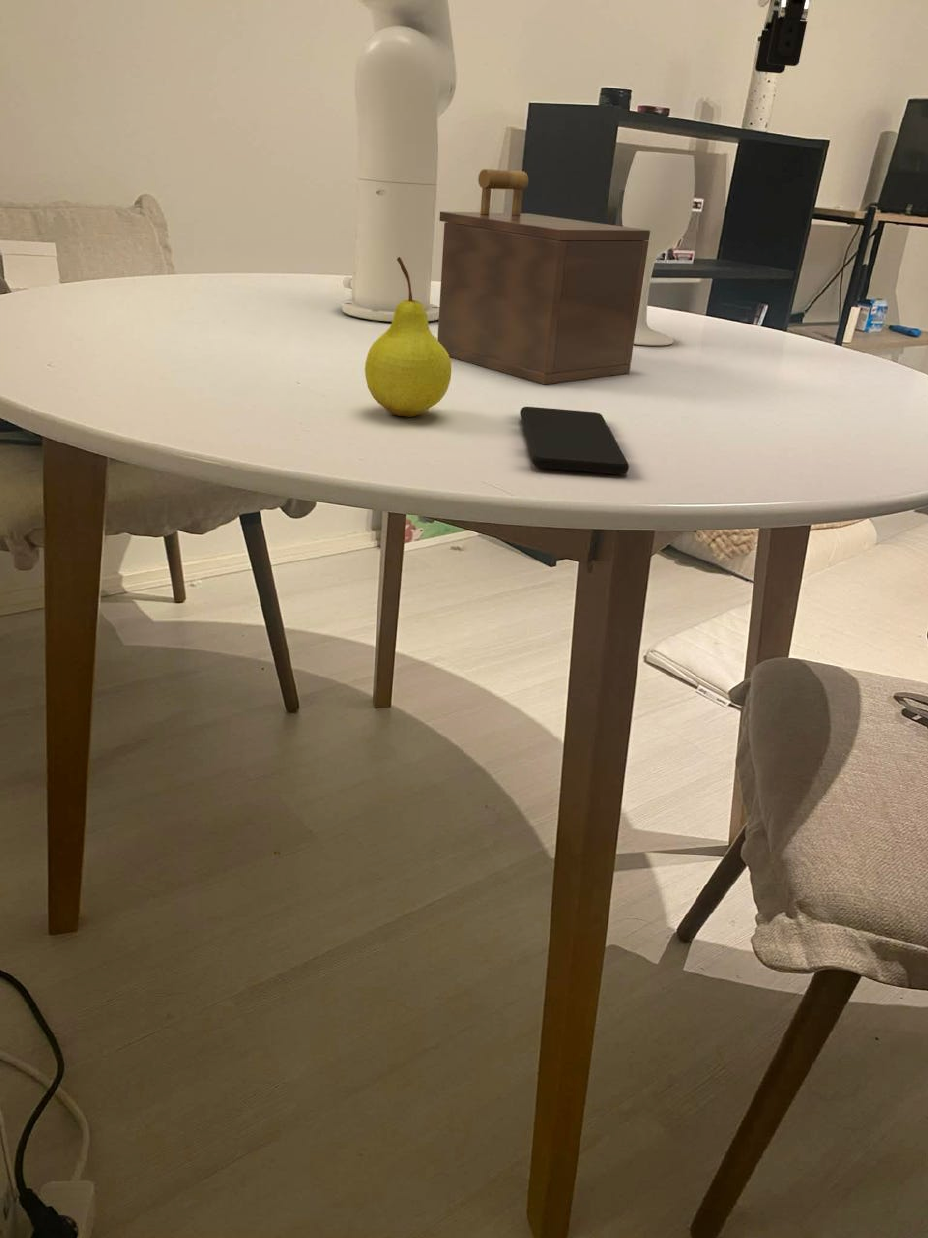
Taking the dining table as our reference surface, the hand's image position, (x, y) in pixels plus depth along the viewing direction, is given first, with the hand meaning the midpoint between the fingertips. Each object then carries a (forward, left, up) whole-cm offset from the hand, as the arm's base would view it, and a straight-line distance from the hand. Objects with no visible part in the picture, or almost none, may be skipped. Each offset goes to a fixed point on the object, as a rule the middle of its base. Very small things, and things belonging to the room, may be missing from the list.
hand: (775, 68), depth 106 cm
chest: (-4, -29, -30) cm, 42 cm away
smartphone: (+20, -49, -30) cm, 61 cm away
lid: (-4, -29, -17) cm, 34 cm away
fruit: (+7, -55, -30) cm, 63 cm away
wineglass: (-9, -5, -30) cm, 32 cm away
